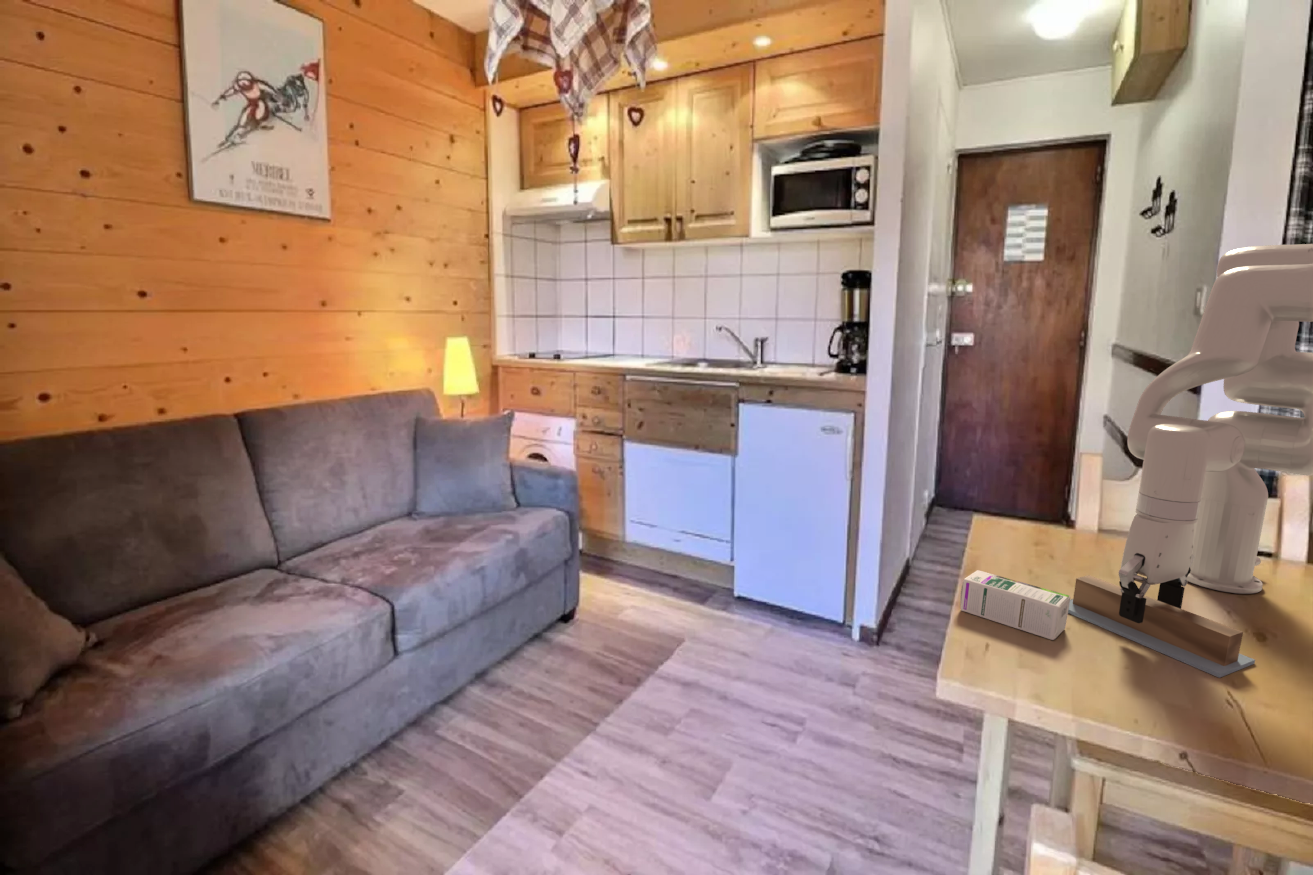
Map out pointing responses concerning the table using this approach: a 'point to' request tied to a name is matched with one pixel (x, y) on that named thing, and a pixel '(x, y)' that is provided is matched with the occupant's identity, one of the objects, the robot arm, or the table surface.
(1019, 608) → the syrup box
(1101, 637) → the table surface
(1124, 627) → the rubber mat
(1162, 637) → the wooden beam
